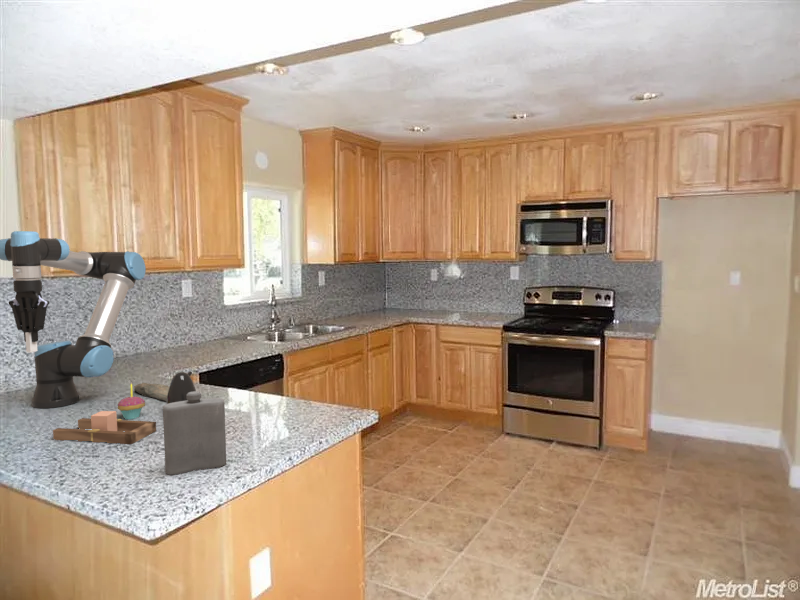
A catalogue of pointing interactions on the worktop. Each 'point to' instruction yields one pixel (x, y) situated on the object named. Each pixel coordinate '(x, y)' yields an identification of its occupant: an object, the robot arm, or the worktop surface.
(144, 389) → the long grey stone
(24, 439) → the worktop surface
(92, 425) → the block
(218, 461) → the flask
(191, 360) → the worktop surface
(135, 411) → the cupcake
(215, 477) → the worktop surface
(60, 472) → the worktop surface
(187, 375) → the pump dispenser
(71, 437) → the slotted beam
